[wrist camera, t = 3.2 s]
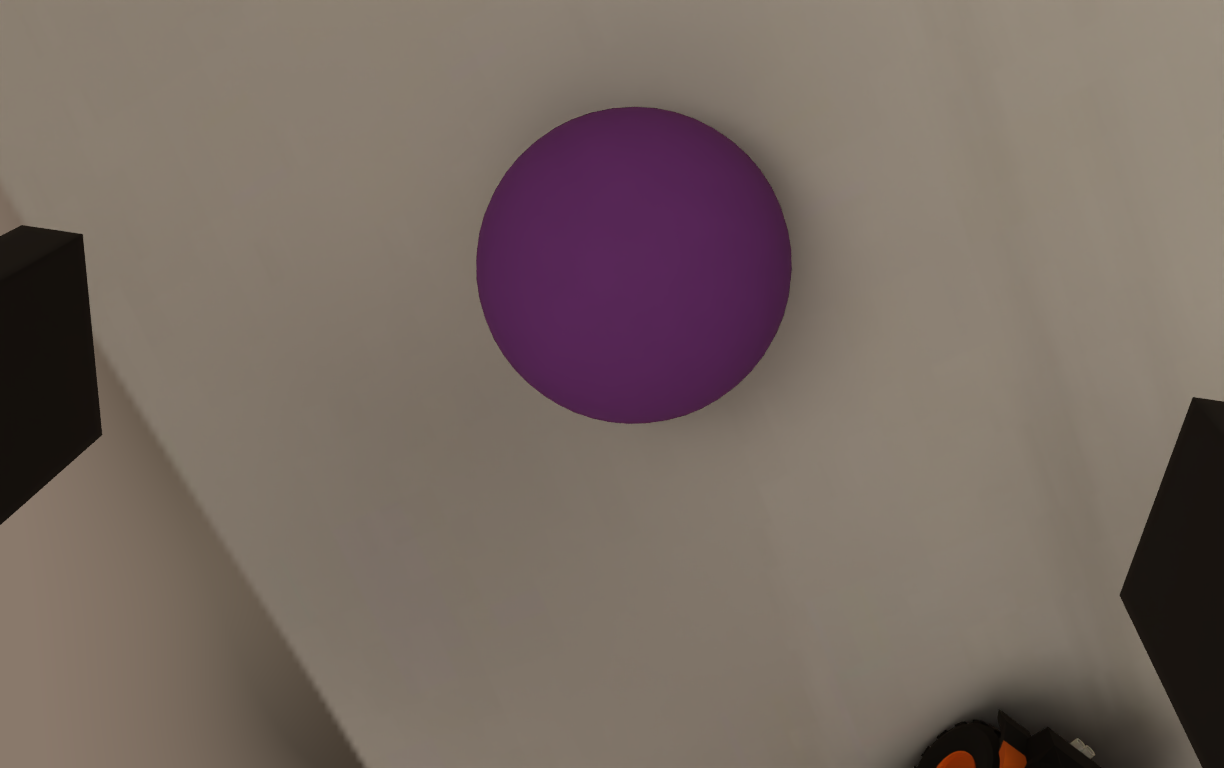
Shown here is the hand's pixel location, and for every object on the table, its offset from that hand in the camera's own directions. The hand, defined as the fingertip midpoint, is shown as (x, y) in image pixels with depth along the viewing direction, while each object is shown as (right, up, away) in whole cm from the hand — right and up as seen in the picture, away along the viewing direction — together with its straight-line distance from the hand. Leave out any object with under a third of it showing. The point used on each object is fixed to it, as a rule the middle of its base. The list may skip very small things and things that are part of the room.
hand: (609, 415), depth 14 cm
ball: (0, +2, +5) cm, 5 cm away
